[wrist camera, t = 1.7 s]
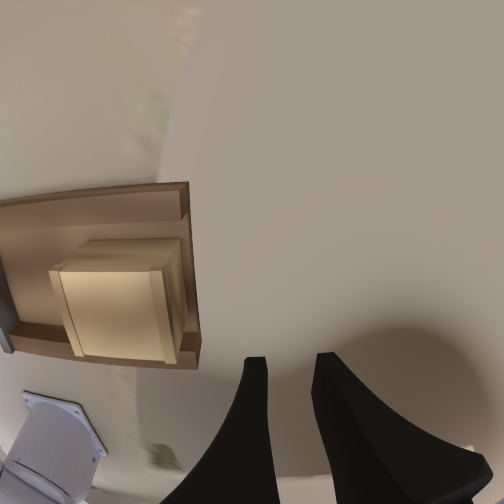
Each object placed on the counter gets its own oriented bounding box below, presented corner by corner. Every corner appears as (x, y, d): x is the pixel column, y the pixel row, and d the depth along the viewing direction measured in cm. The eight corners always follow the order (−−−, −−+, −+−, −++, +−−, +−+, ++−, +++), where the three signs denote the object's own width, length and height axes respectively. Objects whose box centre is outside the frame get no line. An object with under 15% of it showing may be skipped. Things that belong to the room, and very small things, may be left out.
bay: (201, 341, 21) (196, 374, 18) (24, 328, 20) (4, 352, 17) (188, 181, 17) (177, 192, 14) (-10, 202, 16) (-40, 215, 13)
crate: (188, 315, 19) (176, 363, 15) (102, 313, 19) (75, 355, 14) (179, 236, 17) (161, 270, 13) (86, 239, 17) (48, 270, 13)
